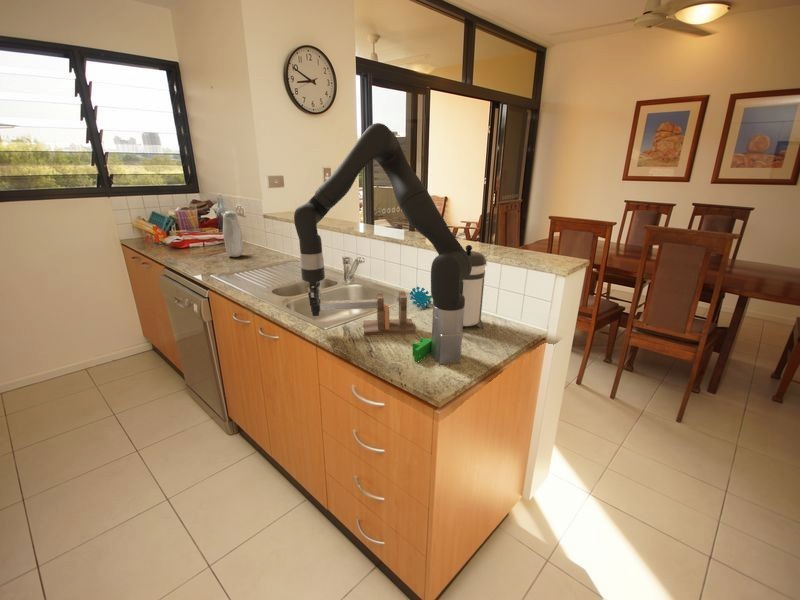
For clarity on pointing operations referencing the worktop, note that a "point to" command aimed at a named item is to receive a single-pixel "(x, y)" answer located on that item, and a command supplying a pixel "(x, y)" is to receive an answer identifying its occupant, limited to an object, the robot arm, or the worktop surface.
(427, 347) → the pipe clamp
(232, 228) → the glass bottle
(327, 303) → the shaft
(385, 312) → the spacer
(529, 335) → the worktop surface
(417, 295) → the teal spiky round piece
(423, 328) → the worktop surface
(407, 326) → the stand
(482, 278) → the coffee press
